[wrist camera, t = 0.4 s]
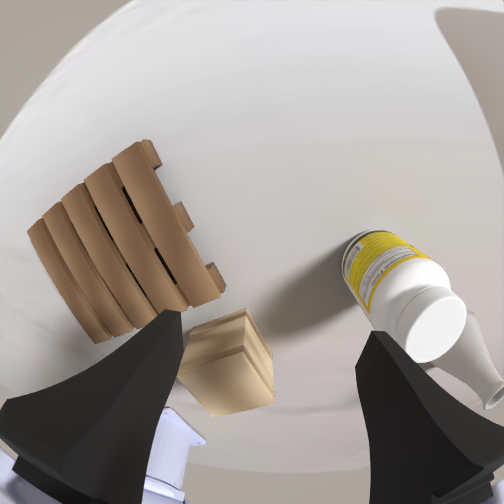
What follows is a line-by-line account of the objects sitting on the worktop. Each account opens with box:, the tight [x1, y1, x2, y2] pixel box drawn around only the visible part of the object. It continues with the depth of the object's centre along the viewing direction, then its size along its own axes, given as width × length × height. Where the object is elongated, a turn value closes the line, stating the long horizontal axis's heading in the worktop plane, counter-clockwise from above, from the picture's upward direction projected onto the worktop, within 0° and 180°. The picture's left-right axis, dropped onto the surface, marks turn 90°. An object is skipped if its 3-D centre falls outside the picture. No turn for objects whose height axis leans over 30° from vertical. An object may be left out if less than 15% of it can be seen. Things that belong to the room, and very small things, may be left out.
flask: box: [429, 310, 504, 410], centre depth 18 cm, size 7×7×10 cm
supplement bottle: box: [342, 229, 467, 363], centre depth 15 cm, size 5×5×10 cm
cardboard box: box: [176, 308, 275, 417], centre depth 20 cm, size 5×5×6 cm
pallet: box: [27, 140, 226, 344], centre depth 20 cm, size 14×12×2 cm
